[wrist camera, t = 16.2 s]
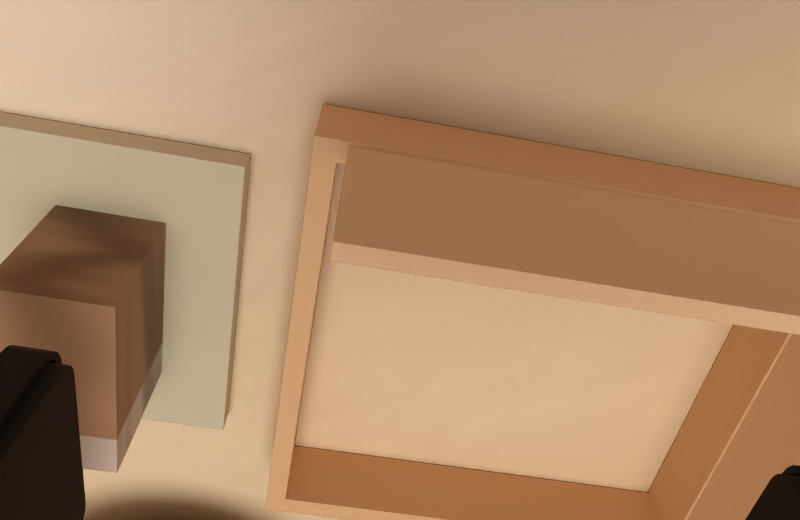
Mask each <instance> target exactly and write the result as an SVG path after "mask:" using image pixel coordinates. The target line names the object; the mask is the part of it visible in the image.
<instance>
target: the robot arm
mask: <svg viewBox="0 0 800 520" xmlns="http://www.w3.org/2000/svg"><path fill="white" fill-rule="evenodd" d="M84 514H85V492H84V480H83V468H82V456H81V445H80V433H79V421H78V410H77V398H76V386H75V375H74V369H73V367H72V366H70V365H65V364H62V360H61V356H60V355H59V353H58V352H55V351H49V350H43V349H36V348H30V347H23V346H17V345H10V346H7V347H6V348H5V349H4V350H2V351H1V352H0V520H83V518H84ZM745 520H800V466H799V465H792V466H789V467H787V468H786V469H785V470H784V472H783V473H782V474H776V475H774V476H773V477H772V478H771V480H770V481H769V483H768V484H767V486H766V487H765V489H764V491H763V492H762V494H761V495H760V497H759V499H758V500H757V502H756V503H755V505H754V506H753V508H752V510H751V511H750V513H749V514H748V516H747V518H746V519H745Z"/></svg>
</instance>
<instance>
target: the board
mask: <svg viewBox="0 0 800 520" xmlns="http://www.w3.org/2000/svg"><path fill="white" fill-rule="evenodd" d="M250 159H251V154H246V153H240V152H234V151H229V150H223V149H217V148H211V147H205V146H199V145H193V144H187V143H181V142H176V141H170V140H164V139H158V138H152V137H146V136H140V135H134V134H128V133H122V132H117V131H111V130H105V129H99V128H93V127H87V126H81V125H75V124H69V123H64V122H58V121H52V120H46V119H40V118H34V117H28V116H22V115H16V114H10V113H5V112H0V264H1V263H2V262H3V261H4V260H5V259H6V258H7V257H8V256H9V255H10V253H11V252H12V251H13V250H14V249H15V248H16V247H17V246H18V245H19V244H20V243H21V242H22V241H23V239H24V238H25V237H26V236H27V235H28V234H29V233H30V232H31V231H32V230H33V229H34V228H35V227H36V225H37V224H38V223H39V222H40V221H41V220H42V219H43V218H44V217H45V216H46V215H47V214H48V213H49V212H50V210H51V209H52V208H53V207H54V206H55V205H59V206H65V207H72V208H78V209H84V210H90V211H96V212H102V213H109V214H115V215H121V216H127V217H133V218H139V219H145V220H152V221H158V222H164V223H166V243H165V278H164V312H163V346H162V373H161V375H160V377H159V379H158V382H157V384H156V386H155V388H154V391H153V393H152V395H151V397H150V400H149V402H148V404H147V406H146V409H145V411H144V413H143V416H142V418H141V419H146V420H153V421H161V422H168V423H176V424H183V425H191V426H198V427H206V428H213V429H221V430H223V429H224V425H225V422H226V419H227V415H228V412H229V402H230V390H231V379H232V367H233V356H234V344H235V333H236V321H237V309H238V298H239V286H240V275H241V263H242V252H243V240H244V228H245V217H246V205H247V194H248V182H249V171H250Z"/></svg>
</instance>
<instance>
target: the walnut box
mask: <svg viewBox="0 0 800 520" xmlns="http://www.w3.org/2000/svg"><path fill="white" fill-rule="evenodd" d="M165 243H166V223H164V222H158V221H152V220H145V219H139V218H133V217H127V216H121V215H115V214H109V213H102V212H96V211H90V210H84V209H78V208H72V207H65V206H59V205H55V206H54V207H53V208H52V209H51V210H50V212H49V213H48V214H47V215H46V216H45V217H44V218H43V219H42V220H41V221H40V222H39V223H38V224H37V225H36V227H35V228H34V229H33V230H32V231H31V232H30V233H29V234H28V235H27V236H26V237H25V238H24V239H23V241H22V242H21V243H20V244H19V245H18V246H17V247H16V248H15V249H14V250H13V251H12V252H11V253H10V255H9V256H8V257H7V258H6V259H5V260H4V261H3V262H2V263H1V264H0V352H1V351H2V350H4V349H5V348H6V347H7V346H10V345H17V346H23V347H30V348H36V349H43V350H49V351H55V352H58V353H59V355H60V356H61V360H62V364H65V365H70V366H72V367H73V369H74V375H75V386H76V398H77V410H78V421H79V433H80V445H81V456H82V468H83V469H91V470H99V471H107V472H114V473H117V472H118V470H119V467H120V465H121V463H122V461H123V458H124V456H125V454H126V452H127V449H128V447H129V445H130V443H131V440H132V438H133V436H134V434H135V431H136V429H137V427H138V425H139V422H140V420H141V418H142V416H143V413H144V411H145V409H146V406H147V404H148V402H149V400H150V397H151V395H152V393H153V391H154V388H155V386H156V384H157V382H158V379H159V377H160V375H161V373H162V346H163V312H164V278H165Z"/></svg>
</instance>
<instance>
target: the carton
mask: <svg viewBox="0 0 800 520" xmlns="http://www.w3.org/2000/svg"><path fill="white" fill-rule="evenodd" d="M337 163H339V164H345V171H344V177H343V183H342V189H341V195H340V202H339V208H338V214H337V220H336V226H335V232H334V238H333V245H332V251H331V257H330V261H334V262H340V263H346V264H353V265H359V266H366V267H372V268H378V269H385V270H391V271H397V272H404V273H410V274H416V275H423V276H429V277H435V278H442V279H448V280H454V281H461V282H467V283H473V284H480V285H486V286H492V287H499V288H505V289H511V290H518V291H524V292H530V293H537V294H543V295H550V296H556V297H562V298H569V299H575V300H581V301H588V302H594V303H600V304H607V305H613V306H619V307H626V308H632V309H638V310H645V311H651V312H657V313H664V314H670V315H676V316H683V317H689V318H695V319H702V320H708V321H714V322H721V323H727V324H734V325H733V327H732V329H731V331H730V333H729V335H728V337H727V339H726V341H725V343H724V345H723V347H722V349H721V351H720V353H719V355H718V357H717V359H716V361H715V363H714V365H713V366H712V368H711V370H710V372H709V374H708V376H707V378H706V380H705V382H704V384H703V386H702V388H701V390H700V392H699V394H698V396H697V398H696V400H695V402H694V404H693V406H692V408H691V410H690V412H689V413H688V415H687V417H686V419H685V421H684V423H683V425H682V427H681V429H680V431H679V433H678V435H677V437H676V439H675V441H674V443H673V445H672V447H671V449H670V451H669V453H668V455H667V457H666V458H665V460H664V462H663V464H662V466H661V468H660V470H659V472H658V474H657V476H656V478H655V480H654V482H653V484H652V486H651V488H650V490H649V492H648V493H645V492H638V491H630V490H623V489H615V488H608V487H600V486H593V485H585V484H578V483H570V482H563V481H555V480H548V479H540V478H533V477H525V476H518V475H510V474H503V473H495V472H488V471H480V470H473V469H465V468H458V467H450V466H443V465H435V464H428V463H420V462H413V461H405V460H398V459H390V458H383V457H375V456H368V455H360V454H353V453H345V452H338V451H330V450H322V449H315V448H307V447H300V446H294V445H295V439H296V432H297V425H298V419H299V412H300V406H301V399H302V392H303V386H304V379H305V373H306V366H307V360H308V353H309V346H310V340H311V333H312V327H313V320H314V313H315V307H316V300H317V294H318V287H319V280H320V274H321V267H322V261H323V254H324V248H325V241H326V234H327V228H328V221H329V215H330V208H331V201H332V195H333V188H334V182H335V175H336V169H337ZM792 465H799V466H800V188H794V187H789V186H783V185H777V184H772V183H766V182H760V181H755V180H749V179H743V178H738V177H732V176H727V175H721V174H715V173H710V172H704V171H698V170H693V169H687V168H682V167H676V166H670V165H665V164H659V163H653V162H648V161H642V160H637V159H631V158H625V157H620V156H614V155H608V154H603V153H597V152H592V151H586V150H580V149H575V148H569V147H563V146H558V145H552V144H547V143H541V142H535V141H530V140H524V139H518V138H513V137H507V136H502V135H496V134H490V133H485V132H479V131H473V130H468V129H462V128H457V127H451V126H445V125H440V124H434V123H428V122H423V121H417V120H411V119H406V118H400V117H395V116H389V115H383V114H378V113H372V112H366V111H361V110H355V109H350V108H344V107H338V106H333V105H327V104H323V108H322V111H321V115H320V118H319V122H318V125H317V129H316V132H315V136H314V144H313V151H312V159H311V166H310V174H309V182H308V189H307V197H306V204H305V212H304V219H303V227H302V235H301V242H300V250H299V257H298V265H297V272H296V280H295V288H294V295H293V303H292V310H291V318H290V325H289V333H288V341H287V348H286V356H285V363H284V371H283V378H282V386H281V394H280V401H279V409H278V416H277V424H276V431H275V439H274V447H273V454H272V462H271V469H270V477H269V484H268V492H267V500H266V507H265V509H267V510H275V511H283V512H291V513H299V514H307V515H315V516H323V517H331V518H339V519H347V520H745V519H746V518H747V516H748V514H749V513H750V511H751V510H752V508H753V506H754V505H755V503H756V502H757V500H758V499H759V497H760V495H761V494H762V492H763V491H764V489H765V487H766V486H767V484H768V483H769V481H770V480H771V478H772V477H773V476H774V475H776V474H782V473H783V472H784V470H785V469H786V468H787V467H789V466H792Z"/></svg>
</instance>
